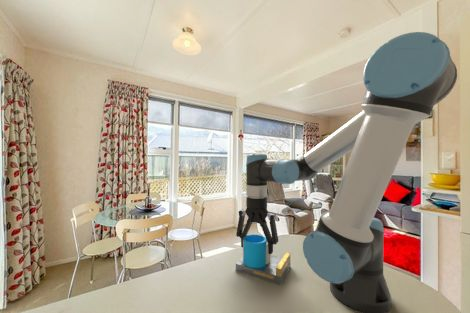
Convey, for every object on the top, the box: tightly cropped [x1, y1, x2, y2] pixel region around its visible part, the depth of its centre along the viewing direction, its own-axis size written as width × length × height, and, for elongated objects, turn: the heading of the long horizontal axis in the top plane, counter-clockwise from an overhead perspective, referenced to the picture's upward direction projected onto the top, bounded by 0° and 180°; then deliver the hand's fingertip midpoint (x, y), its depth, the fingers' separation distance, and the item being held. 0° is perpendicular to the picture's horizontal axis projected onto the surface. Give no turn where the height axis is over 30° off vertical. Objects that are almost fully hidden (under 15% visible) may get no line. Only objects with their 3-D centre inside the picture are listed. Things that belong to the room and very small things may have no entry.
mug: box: [244, 234, 267, 268], centre depth 75 cm, size 12×8×8 cm
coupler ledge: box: [235, 252, 291, 286], centre depth 73 cm, size 16×12×5 cm
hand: (256, 259), depth 74 cm, fingers closed on mug, 8 cm apart
